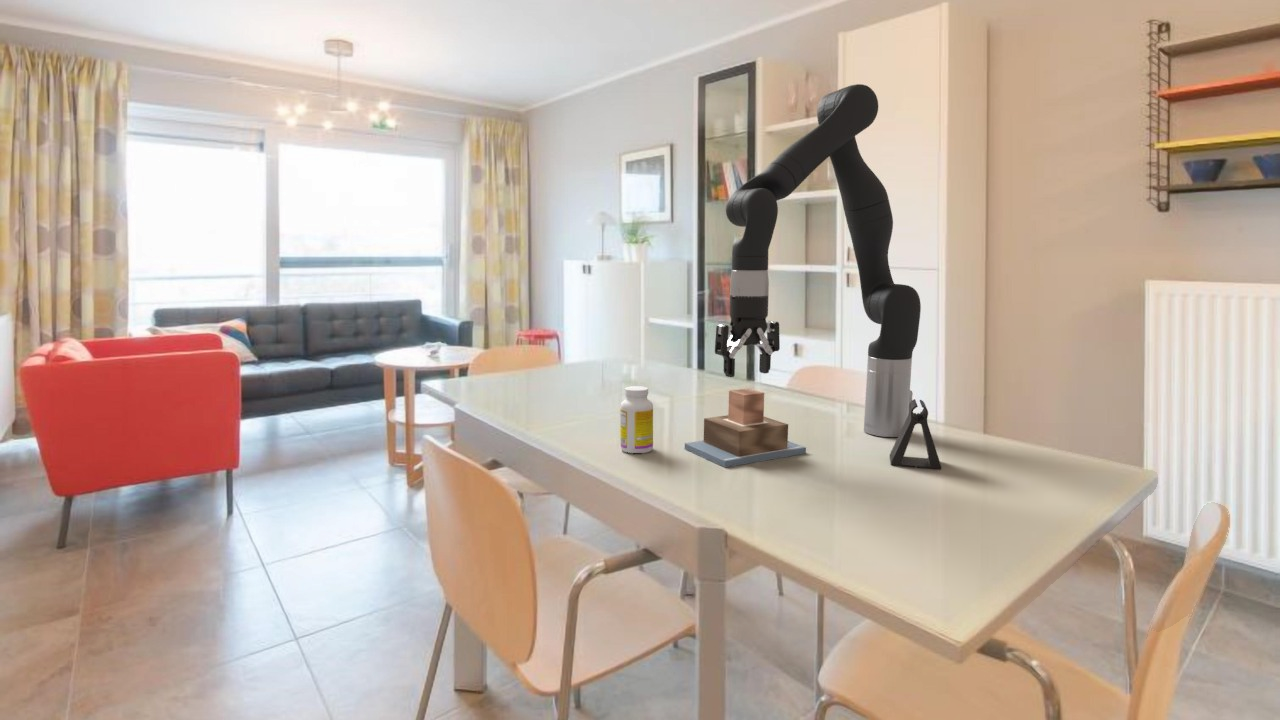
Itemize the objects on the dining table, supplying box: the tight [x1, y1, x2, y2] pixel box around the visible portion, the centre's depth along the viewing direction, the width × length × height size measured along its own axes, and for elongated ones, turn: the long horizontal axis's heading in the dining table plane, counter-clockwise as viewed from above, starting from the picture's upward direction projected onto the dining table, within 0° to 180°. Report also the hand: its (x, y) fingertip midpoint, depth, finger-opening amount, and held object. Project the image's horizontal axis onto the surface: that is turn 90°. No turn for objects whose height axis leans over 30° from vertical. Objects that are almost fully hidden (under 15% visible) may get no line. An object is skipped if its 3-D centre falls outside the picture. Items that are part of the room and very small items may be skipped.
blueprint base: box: [684, 415, 807, 468], centre depth 143 cm, size 20×14×6 cm
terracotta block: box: [728, 388, 765, 425], centre depth 142 cm, size 5×5×6 cm
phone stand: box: [889, 399, 942, 471], centre depth 135 cm, size 9×6×12 cm, turn 73°
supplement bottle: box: [619, 385, 654, 454], centre depth 143 cm, size 7×7×13 cm
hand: (747, 374), depth 141 cm, fingers open, 8 cm apart
